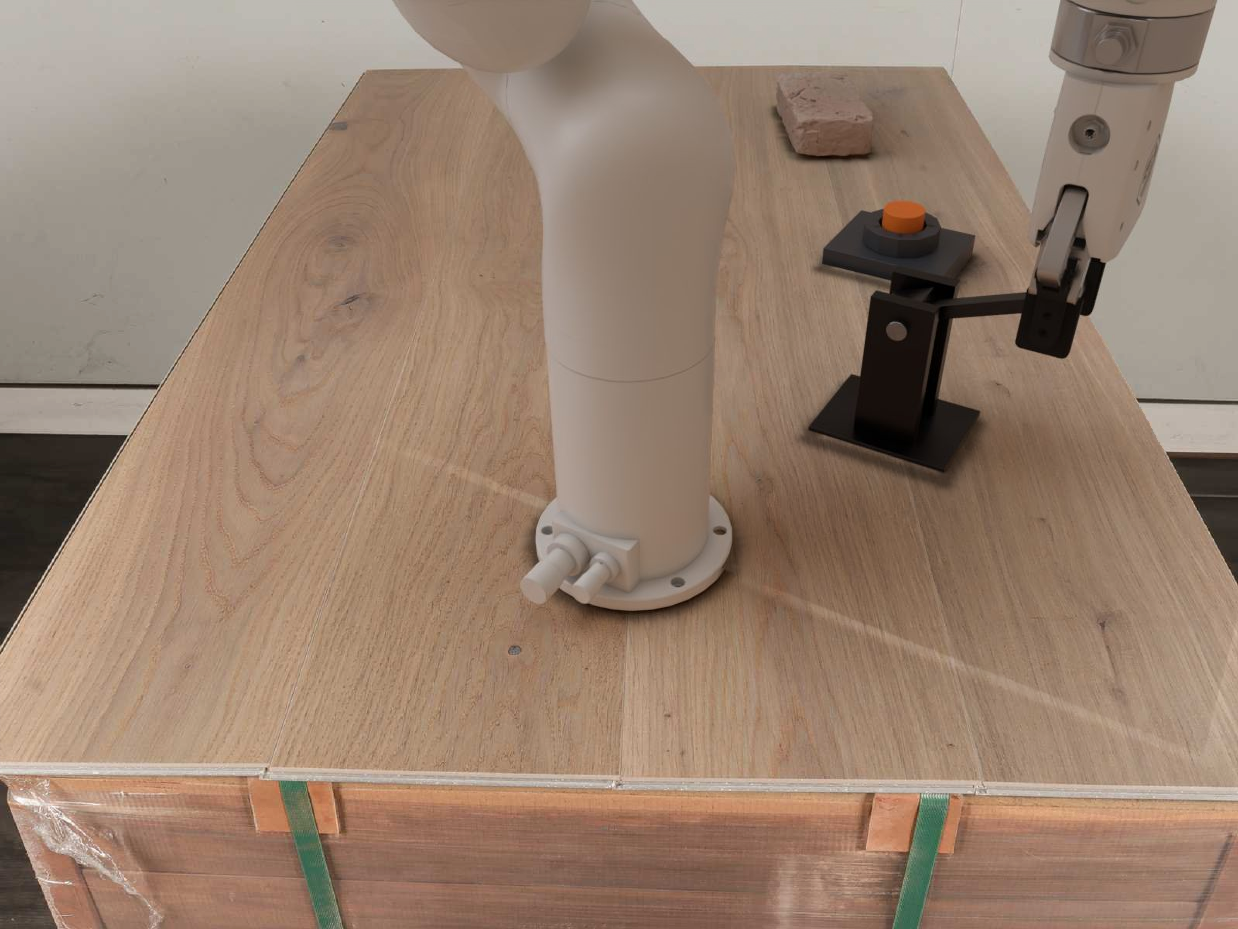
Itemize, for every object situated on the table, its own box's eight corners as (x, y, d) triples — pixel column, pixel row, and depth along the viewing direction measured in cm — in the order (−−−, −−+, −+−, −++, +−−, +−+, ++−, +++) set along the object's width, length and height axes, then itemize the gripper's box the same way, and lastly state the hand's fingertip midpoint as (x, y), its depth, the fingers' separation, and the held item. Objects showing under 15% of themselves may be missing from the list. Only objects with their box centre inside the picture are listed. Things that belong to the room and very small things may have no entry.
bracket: (977, 424, 82) (1008, 280, 74) (941, 483, 76) (971, 334, 69) (849, 386, 86) (867, 247, 79) (806, 439, 81) (821, 295, 73)
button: (928, 223, 100) (931, 205, 99) (914, 239, 98) (917, 221, 96) (890, 215, 101) (892, 197, 100) (875, 230, 99) (877, 212, 98)
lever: (1090, 298, 71) (1085, 263, 70) (1070, 334, 67) (1064, 297, 66) (908, 313, 78) (901, 281, 77) (883, 345, 75) (875, 313, 74)
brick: (772, 107, 134) (775, 67, 131) (842, 104, 134) (846, 65, 131) (795, 162, 121) (798, 120, 118) (872, 160, 121) (877, 117, 118)
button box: (971, 256, 102) (979, 216, 100) (939, 299, 96) (946, 257, 94) (858, 231, 107) (863, 191, 105) (821, 269, 101) (825, 229, 99)
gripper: (1172, 94, 52) (1081, 414, 63) (1230, 3, 63) (1144, 287, 74) (1011, 69, 55) (951, 378, 66) (1093, -14, 67) (1031, 261, 78)
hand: (1054, 327), depth 70 cm, fingers closed on lever, 5 cm apart
